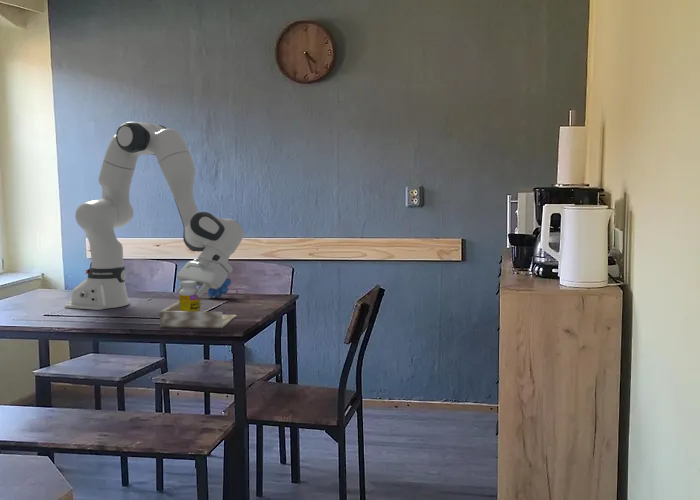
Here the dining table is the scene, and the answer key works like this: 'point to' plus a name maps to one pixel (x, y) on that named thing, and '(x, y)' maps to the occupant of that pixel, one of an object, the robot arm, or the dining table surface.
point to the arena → (192, 318)
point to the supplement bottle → (189, 296)
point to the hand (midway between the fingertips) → (188, 294)
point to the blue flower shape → (220, 289)
